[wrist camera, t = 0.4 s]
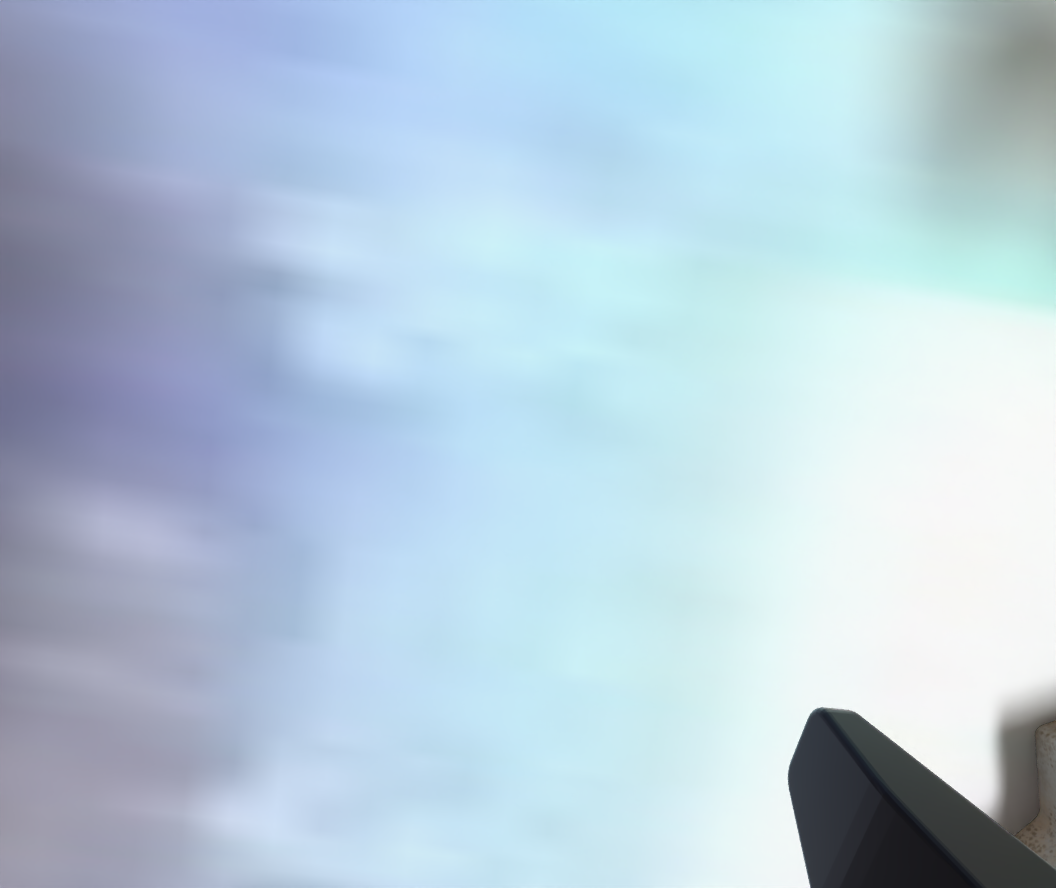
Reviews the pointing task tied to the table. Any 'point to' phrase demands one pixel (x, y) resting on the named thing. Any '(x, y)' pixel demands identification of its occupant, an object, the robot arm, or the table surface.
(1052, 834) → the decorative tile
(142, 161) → the table surface
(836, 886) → the robot arm
